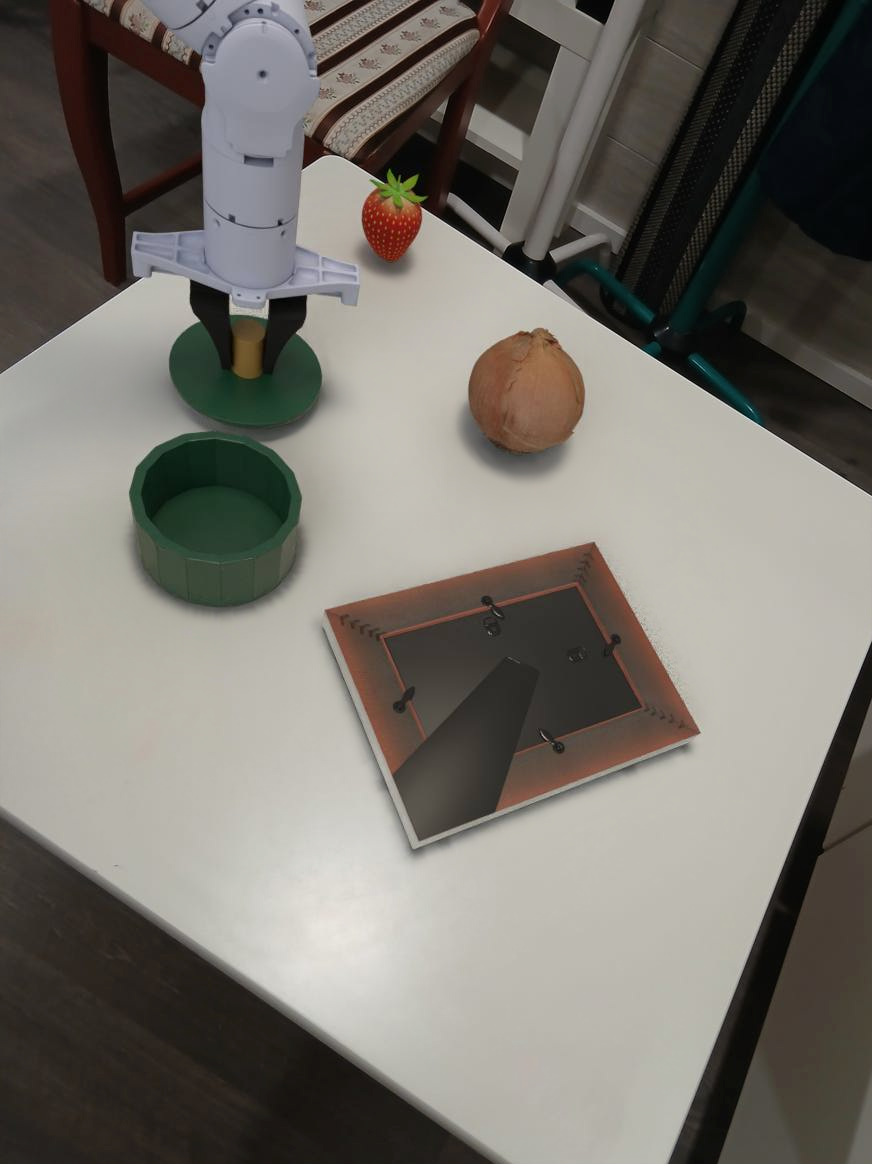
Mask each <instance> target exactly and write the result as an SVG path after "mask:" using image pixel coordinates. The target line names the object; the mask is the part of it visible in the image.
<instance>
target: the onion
mask: <svg viewBox="0 0 872 1164" xmlns="http://www.w3.org/2000/svg"><path fill="white" fill-rule="evenodd" d="M556 337H557V335H554V334H552V333H551V332H549V329H548V328H545V327H537V328H534V329H533V330H532V331H531V332H529V331H525V330H519V331H518V332H516V333H514V334H512V335H510V336H507V337H506V338H503V339H501V340H499V341H497V342H496V343H493V345H490V347H488V348H487V349H486V350H485V351H484V352H483V353H481V355H480V356H479V357H478V358H477V360H476V361H475V362H474V365H473V367H472V369H471V373H470V376H469V380H468V386H467V387H468V388H467V396H468V397H467V398H468V406H469V409H470V412H471V416H472V417H473V419H474V421H475V422H476V424H477V426H478V427H479V429H480V430H481V432H483V433H482V434H483V435H485V436H486V437H487V439H488V440H489V441H490V442H491V443H493V444H492V445H494V447H495V448H497V449H499V450H502V451H504V452H507V453H509V454H515V455H519V456H522V454H524V453H536V452H542V451H544V450H548V449H549V448H552V447H553V446H556V445H558V444H560V445H562V444H563V443H565V442H566V441H568V440H569V439H570V438H571V437H572V435H574V433H575V431H573V430H574V429H576V427H577V425H578V424H579V422H580V420H581V418H582V416H583V413H584V408H585V401H586V400H585V399H586V388H585V381H584V378H583V375H582V372H581V370H580V368H579V366H578V365H577V363H576V362H575V361H574V359H573V358H572V357H571V356H570V354H569V353H568V352H567V351H565V350H564V349H563V346H562V345H560V341H559V340H558V339H557V338H556Z"/></svg>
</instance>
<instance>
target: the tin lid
mask: <svg viewBox="0 0 872 1164" xmlns="http://www.w3.org/2000/svg"><path fill="white" fill-rule="evenodd" d="M267 319H268V318H265V317H260V316H255V315H251V314H250V315H248V314H230V321H231V370H226V369H222V368H221V363H220V359H219V355H218V352H217V350H216V347H215V345H214V343H213V340H212V338H211V336H210V335H209V333H208V331H207V330H206V328H205V327H204V325H203V324H202V322H201V321H200V320H199V321H197V322H196V323H194V324H192V325H190V326H189V327H187V328H186V329H185V330H184V331H183V332H181V333H180V334H179V335H178V337H177V338H176V339H175V341H174V343H173V344H172V346H171V349H170V352H169V357H168V370H169V376H170V380H171V383H172V385H173V387H174V389H175V390H176V392H177V393H178V394H179V395H178V396H180V397H181V398H182V400H183V401H184V402H185V403H186V404H187V405H189V407H191V408H192V409H194V411H196V412H197V413H199V414H201V415H202V416H204V417H206V418H208V419H210V420H212V421H215V422H217V423H220V424H223V425H226V426H230V427H234V428H242V429H251V430H252V429H253V430H254V429H255V430H256V429H257V430H258V429H269V428H270V429H271V428H276V427H279V426H283V425H286V424H289V423H291V422H293V421H295V420H297V419H299V418H301V417H302V416H304V415H305V414H306V413H307V412H309V410H310V409H311V408H313V406H314V404H315V403H316V402H317V400H318V398H319V395H320V393H321V389H322V383H323V373H322V367H321V364H320V360H319V359H318V356H317V354H316V353H315V351H314V349H313V348H312V347H311V346H310V345H309V343H307V341H305V339H303V338H302V337H301V336H300V335H299V334H298V333H297V332H296V333H295V334H294V335H293V336H292V337H291V338H290V339H289V340H288V342H287V343H286V345H285V346H284V348H283V349H282V351H281V353H280V355H279V357H278V359H277V361H276V364H275V367H274V370H273V374H263V365H264V352H265V334H266V326H267Z"/></svg>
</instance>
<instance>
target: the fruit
mask: <svg viewBox="0 0 872 1164" xmlns="http://www.w3.org/2000/svg"><path fill="white" fill-rule="evenodd" d="M386 177H387V182H386V183H383V182H379V181H377V180H375V179H373V178H372V179H368V181H369V182H371V183H372V184H373V185H374V186H375V187H376V188H374V190H372V191H371V192H370V193H369V194H368V196H367V197H366V199H365V200H364V203H363V206H362V210H361V226H362V231H363V233H364V236H365V238H366V241H367V242H368V245H369V246H370V248H371V249H372V251H373V253H375V254H376V255H377V256H378V257H379V258H380V259H381V260H384V261H386V262H390V263H393V262H396V261H399V260H400V259H401V258H402V257H403V256H404V255H405V254H406V252H407V251H408V250H409V248H410V246H412V244H413V242H414V241H415V239H416V237H418V234H419V232H420V230H421V227H422V223H423V210H422V206H421V203H422V202H423V201H424V200H426V199H427V198H428V197H429V196H428V195H426V196H419V195H416V193H415V192H414V191H413V190H412V189H413V188H414V187H415V186H416V184H417V182H418V178H419V173H418V174H415V175H413V176H411V177H410V178H408V179H406V180H405V181H404V182H403V183H402V182H401V175H399V176H398V179H396V177H395V176H394V174H393V173H392V170H391V168H389V169H388V171H387V173H386Z"/></svg>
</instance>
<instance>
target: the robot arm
mask: <svg viewBox="0 0 872 1164" xmlns="http://www.w3.org/2000/svg"><path fill="white" fill-rule="evenodd" d="M139 2H141V3H142V5H144V6H145V7H146V8H147V9H148V10H149V11H150V12H151V14H153V16H155V17H156V19H158V21H160V23H161V24H162V25H163V26H164V27H165V28H166V29H167V30H168V31H169V32H170V33H171V34H172V35H173V36H174V37H175V38H176V39H178V40H179V41H180V42H182V43H183V44H185V45H186V46H187V47H189V48H191V49H192V50H193V51H194V52H196V53H197V54H198V55H199V56H202V57H201V58H202V62H201V64H200V70H201V76H202V81H203V83H204V97H205V98H204V100H205V102H204V106H203V109H202V112H201V118H200V119H201V120H200V121H201V124H200V125H201V149H202V150H201V154H202V155H201V156H202V158H201V160H202V198H203V199H202V201H203V202H202V203H203V229H198V230H185V231H173V232H144V231H142V232H141V231H133V233H132V240H131V247H130V254H131V264H132V272H133V277H136V278H144V279H149V278H151V277H152V276H153V273H158V274H165V275H173V276H179V277H184V278H186V279H189V297H188V298H189V305H190V309H191V311H192V313H193V315H194V316H195V317H196V318H197V319H198V320H199V322H200V321H201V322H202V324H203V325H204V327H205V328H206V330H207V331H208V333H209V335H210V336H211V338H212V340H213V343H214V345H215V347H216V350H217V352H218V355H219V359H220V363H221V368H222V369H226V370H231V321H230V315H231V311H230V297H231V303H232V304H233V305H234V306H235V307H238V308H242V309H243V308H244V309H250V310H263V309H264V308H265V307H266V302H267V300H268V308H267V309H268V310H267V311H268V312H267V318H266V319H267V326H266V334H265V352H264V365H263V374H273V370H274V367H275V364H276V361H277V359H278V357H279V355H280V353H281V351H282V349H283V348H284V346H285V345H286V343H287V342H288V340H289V339H290V338H291V337H292V336H293V335H294V334H295V333H296V334H297V332H298V331H299V330H301V329H302V328H303V325H304V324H305V321H306V319H307V315H308V302H307V301H308V296H311V295H316V296H324V297H332V298H339V299H340V303H341V304H342V305H344V306H350V307H357V306H358V300H359V295H360V287H361V275H360V274H361V271H360V265H359V264H357V263H356V264H355V263H350V262H347V261H346V262H345V261H342V260H339V259H336V258H333V257H330V256H328V255H325V254H322V253H320V252H318V251H315V250H312V249H310V248H307V247H306V246H305V247H304V246H302V245H300V244H297V237H298V235H297V234H298V222H299V209H300V199H301V196H300V195H301V188H302V187H301V185H302V177H303V176H302V174H303V173H302V172H303V162H304V161H303V160H304V150H305V149H304V148H305V132H304V131H305V130H304V120H305V116H307V114H308V113H309V112H310V111H311V110H312V108H313V107H314V105H315V103H316V102H317V99H318V97H319V94H320V90H321V86H322V79H321V78H320V77H319V76H318V59H317V55H316V50H315V46H314V42H313V37H312V33H311V29H310V25H309V20H308V17H307V12H306V8H305V4H304V0H139Z"/></svg>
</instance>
